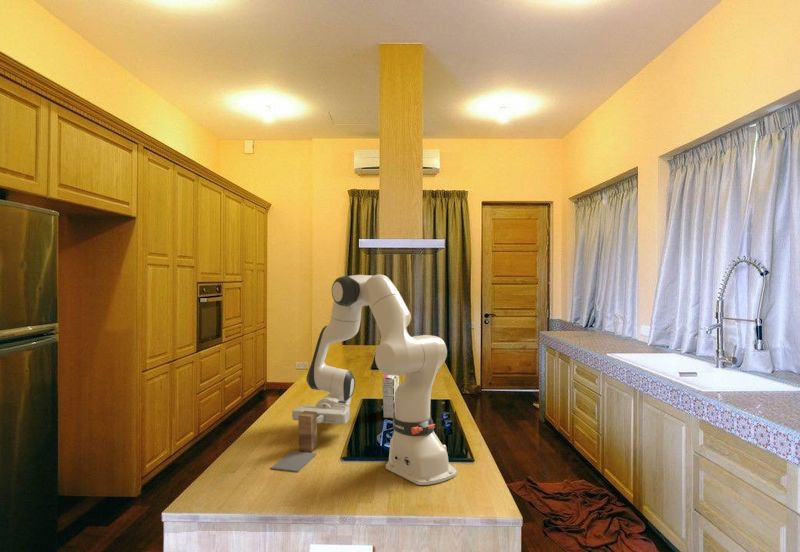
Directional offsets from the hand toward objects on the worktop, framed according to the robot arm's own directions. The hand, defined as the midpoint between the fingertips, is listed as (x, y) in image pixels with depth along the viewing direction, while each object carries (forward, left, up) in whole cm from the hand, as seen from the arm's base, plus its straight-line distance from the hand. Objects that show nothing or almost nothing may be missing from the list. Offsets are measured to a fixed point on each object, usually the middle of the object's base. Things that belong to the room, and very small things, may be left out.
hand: (311, 421), depth 151 cm
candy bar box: (+16, -40, -9) cm, 44 cm away
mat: (-9, +9, -8) cm, 15 cm away
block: (-1, +2, -8) cm, 9 cm away
